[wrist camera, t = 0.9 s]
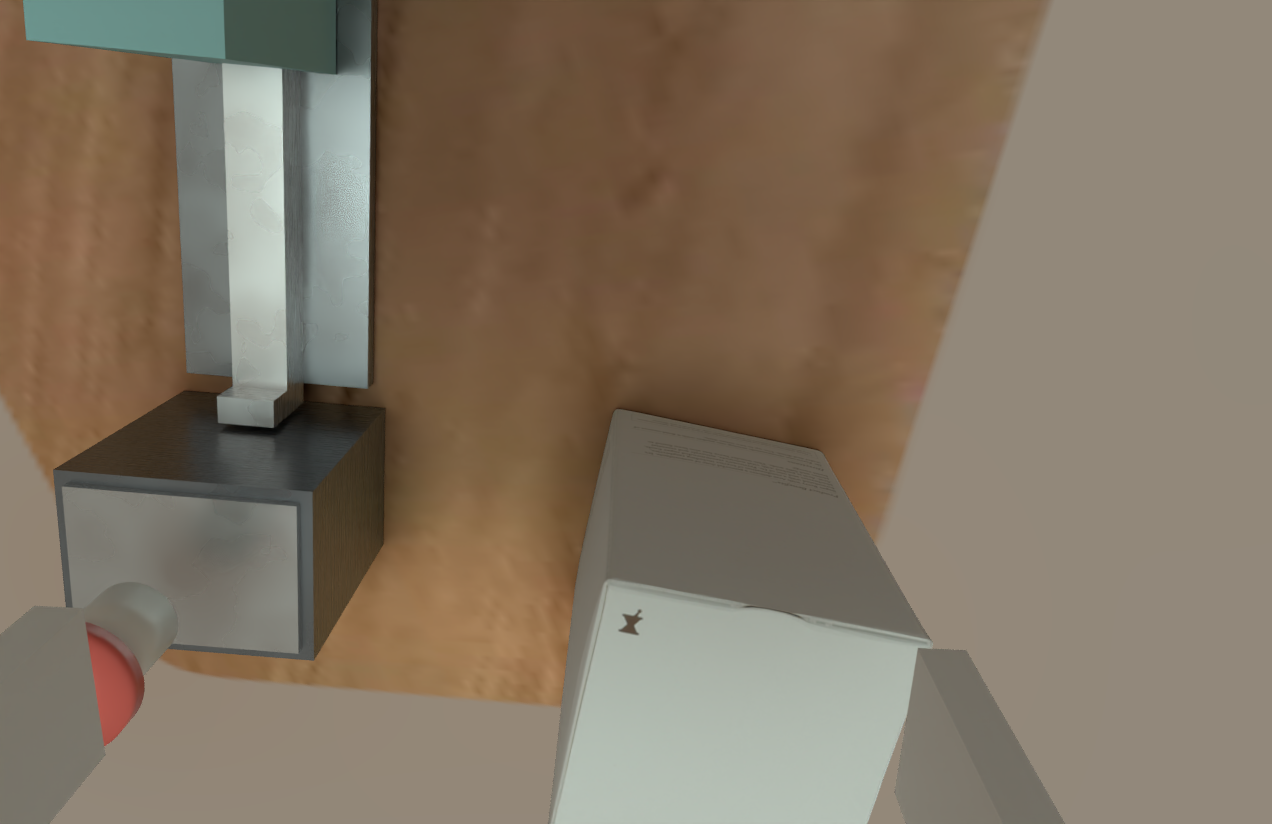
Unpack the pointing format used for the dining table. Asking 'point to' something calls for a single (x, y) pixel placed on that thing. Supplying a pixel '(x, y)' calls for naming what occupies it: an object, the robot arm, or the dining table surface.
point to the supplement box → (728, 639)
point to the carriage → (195, 29)
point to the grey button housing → (229, 520)
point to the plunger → (126, 648)
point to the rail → (324, 208)
